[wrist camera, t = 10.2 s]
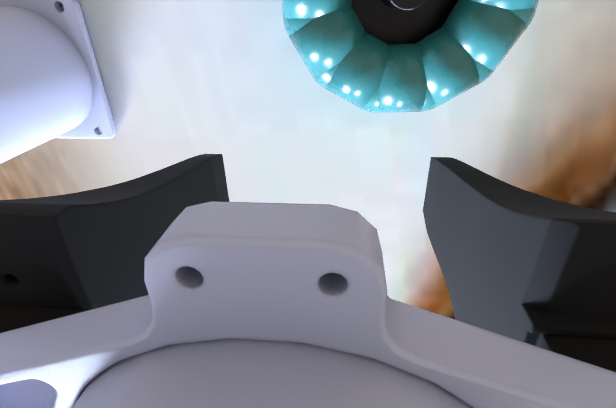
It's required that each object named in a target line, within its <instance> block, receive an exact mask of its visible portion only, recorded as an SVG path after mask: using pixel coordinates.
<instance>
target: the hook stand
mask: <svg viewBox="0 0 616 408" xmlns="http://www.w3.org/2000/svg"><path fill="white" fill-rule="evenodd" d="M457 2H458V0H352V6H353V8H354V10H355V12H356V14H357V16H358V17H359V19H360V21H361V23H362V25H363V27H364V29H365V31H367V32H368V33H370V34H372V35H373V36H375V37H377V38H378V39H380V40H382V41H383V42H385V43H387V44H410V43H416V42H418V41H420V40H421V39H423V38H425V37H426V36H428V35H429V34H431V33H433V32H434V31H436V30H438V29H439V28H441V26H442V25H443V23H444V22H445V20H446V19H447V17H448V16H449V14H450V13H451V11H452V9H453V8H454V6H455V5H456V3H457Z"/></svg>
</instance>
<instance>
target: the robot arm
mask: <svg viewBox="0 0 616 408" xmlns="http://www.w3.org/2000/svg"><path fill="white" fill-rule="evenodd" d="M60 2H61V3H62V4H63V6H64V11H62V10H61V9H60V6H59V4H60ZM98 127H99V128H100V129H101V130H102V133H101V132H100V131H99V130H98ZM115 135H116V127H115V124H114V120H113V117H112V113H111V110H110V107H109V103H108V100H107V96H106V93H105V89H104V86H103V82H102V79H101V76H100V72H99V69H98V65H97V62H96V58H95V55H94V51H93V48H92V45H91V41H90V38H89V34H88V31H87V27H86V24H85V20H84V17H83V14H82V10H81V7H80V4H79V2H78V1H77V0H0V164H1V163H3V162H5V161H7V160H9V159H11V158H13V157H15V156H17V155H19V154H21V153H23V152H26V151H28V150H30V149H32V148H34V147H36V146H38V145H40V144H42V143H44V142H46V141H48V140H50V139H53V138H112V137H113V136H115ZM423 213H424V218H425V224H426V228H427V233H428V236H429V239H430V241H431V244H432V247H433V249H434V252H435V255H436V257H437V260H438V263H439V265H440V268H441V270H442V273H443V276H444V278H445V281H446V284H447V287H448V290H449V294H450V298H451V302H452V306H453V311H454V315H455V319H456V320H454V319H451V318H448V317H445V316H442V315H439V314H436V313H433V312H430V311H427V310H424V309H421V308H418V307H414V306H411V305H408V304H405V303H402V302H399V301H396V300H393V299H390V298H389V297H388V296H387V286H386V279H385V271H384V264H383V256H382V250H381V246H380V242H379V237H378V233H377V229H376V228H374V227H373V226H372V225H371V224H370V223H369V222H368V221H367V220H366V219H365V218H364V217H362V216H361V215H360V214H359V213H358V212H356V211H352V210H348V209H345V208H341V207H337V206H333V205H325V204H287V203H250V202H229V197H228V190H227V184H226V177H225V170H224V163H223V157H222V154H203V155H198V156H195V157H192V158H189V159H187V160H184V161H182V162H179V163H177V164H174V165H172V166H169V167H167V168H164V169H161V170H159V171H156V172H153V173H150V174H148V175H145V176H142V177H140V178H136V179H133V180H130V181H127V182H123V183H119V184H116V185H112V186H108V187H104V188H99V189H93V190H88V191H83V192H78V193H72V194H66V195H58V196H50V197H41V198H30V199H15V200H0V408H616V213H615V212H608V211H602V210H597V209H592V208H587V207H582V206H578V205H573V204H569V203H565V202H561V201H557V200H554V199H550V198H546V197H543V196H540V195H537V194H534V193H531V192H528V191H525V190H523V189H520V188H517V187H515V186H512V185H510V184H508V183H505V182H503V181H501V180H498V179H496V178H494V177H492V176H490V175H488V174H486V173H484V172H482V171H480V170H478V169H476V168H474V167H472V166H470V165H468V164H466V163H464V162H461V161H459V160H457V159H454V158H448V157H431V161H430V168H429V174H428V181H427V188H426V194H425V201H424V207H423Z"/></svg>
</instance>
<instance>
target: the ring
mask: <svg viewBox="0 0 616 408" xmlns="http://www.w3.org/2000/svg"><path fill="white" fill-rule="evenodd" d="M282 4H283V18H284V25H285V28H286V31H287V33H288V35H289V37H290V39H291V40H292V42H293V44H294V45H295V47H296V49H297V50H298V52H299V54H300V56H301V57H302V59H303V61H304V62H305V64H306V66H307V67H308V69H309V71H310V72H311V74H312V76H313V77H314V79H315V80H316V81H317V82H318V83H319V84H320V85H321V86H323V87H324V88H326V89H328V90H329V91H331V92H333V93H335V94H337V95H338V96H340V97H342V98H344V99H345V100H347V101H349V102H351V103H352V104H354V105H356V106H358V107H360V108H361V109H363V110H366V111H370V112H420V111H427V110H430V109H433V108H435V107H437V106H439V105H441V104H443V103H444V102H446V101H448V100H450V99H452V98H454V97H456V96H457V95H459V94H461V93H463V92H465V91H467V90H469V89H470V88H472V87H474V86H476V85H478V84H480V83H481V82H483V81H484V80H486V79H487V78H488V77H489V76H490V75H491V74H492V72H493V71H494V70H495V69H496V67H497V66H498V65H499V63H500V62H501V61H502V59H503V58H504V57H505V56H506V54H507V53H508V52H509V50H510V49H511V48H512V46H513V45H514V44H515V42H516V41H517V40H518V38H519V37H520V36H521V35H522V33H523V32H524V31H525V29H526V28H527V27H528V25H529V24H530V22H531V20H532V19H533V16H534V14H535V11H536V8H537V4H538V0H458V2H457V3H456V5H455V6H454V8H453V9H452V11H451V13H450V14H449V16H448V17H447V19H446V20H445V22H444V23H443V25H442V26H441V28H439V29H438V30H436V31H434V32H433V33H431V34H429V35H428V36H426V37H425V38H423V39H421V40H420V41H418V42H416V43H410V44H387V43H385V42H383V41H382V40H380V39H378V38H377V37H375V36H373V35H372V34H370V33H368V32H367V31H365V29H364V27H363V25H362V23H361V21H360V19H359V17H358V16H357V14H356V12H355V10H354V8H353V6H352V0H282Z"/></svg>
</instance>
